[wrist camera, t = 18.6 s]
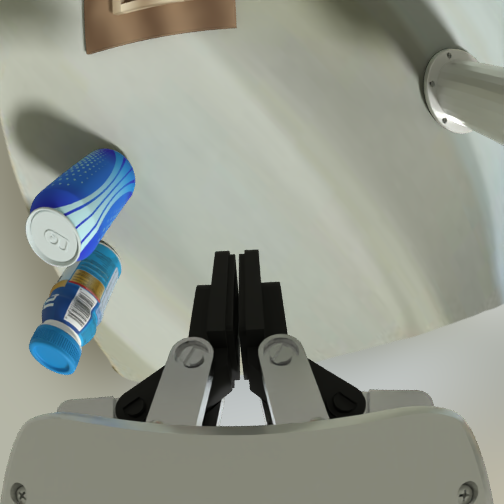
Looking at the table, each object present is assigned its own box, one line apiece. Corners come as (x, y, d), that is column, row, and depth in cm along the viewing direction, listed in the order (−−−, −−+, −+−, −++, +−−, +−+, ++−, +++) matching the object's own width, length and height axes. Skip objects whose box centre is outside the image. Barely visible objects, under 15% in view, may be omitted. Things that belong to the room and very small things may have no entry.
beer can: (99, 210, 40) (48, 281, 26) (74, 160, 35) (6, 216, 22) (148, 191, 38) (104, 264, 25) (123, 135, 34) (59, 185, 21)
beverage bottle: (127, 282, 47) (90, 384, 31) (84, 278, 47) (39, 372, 30) (118, 239, 42) (65, 343, 26) (72, 238, 42) (11, 331, 26)
